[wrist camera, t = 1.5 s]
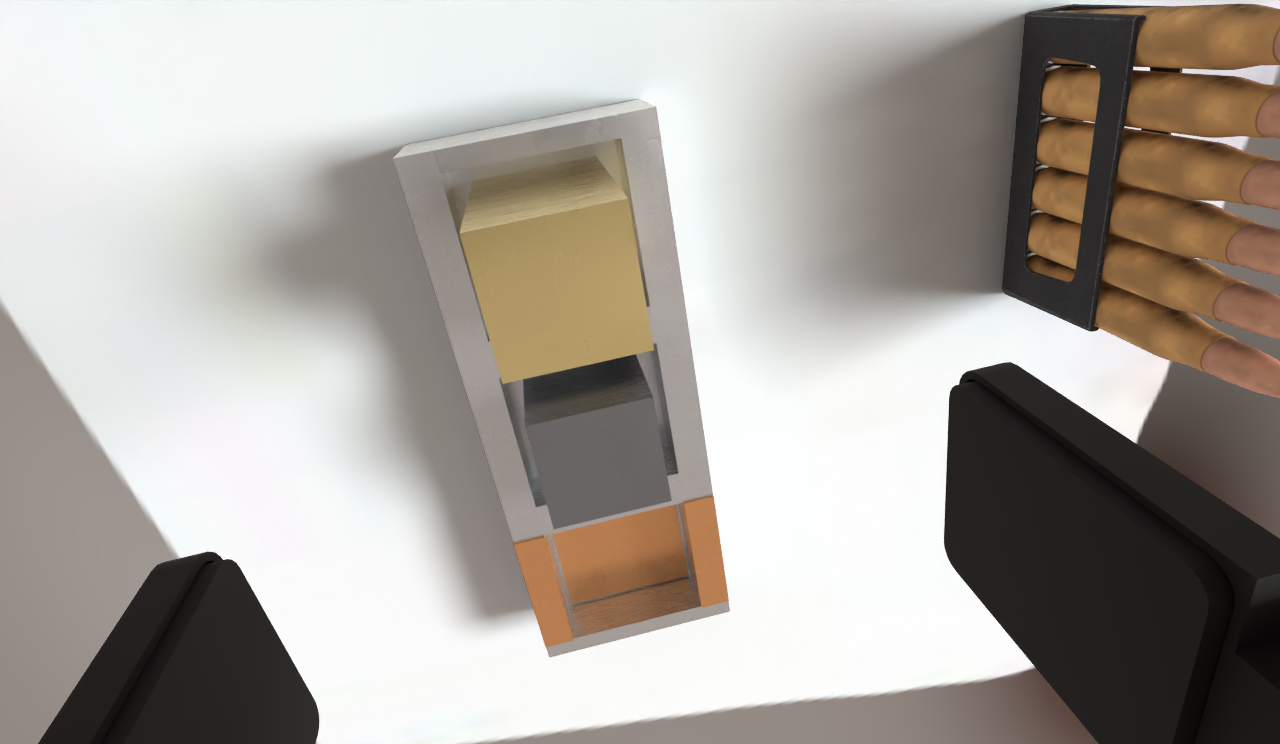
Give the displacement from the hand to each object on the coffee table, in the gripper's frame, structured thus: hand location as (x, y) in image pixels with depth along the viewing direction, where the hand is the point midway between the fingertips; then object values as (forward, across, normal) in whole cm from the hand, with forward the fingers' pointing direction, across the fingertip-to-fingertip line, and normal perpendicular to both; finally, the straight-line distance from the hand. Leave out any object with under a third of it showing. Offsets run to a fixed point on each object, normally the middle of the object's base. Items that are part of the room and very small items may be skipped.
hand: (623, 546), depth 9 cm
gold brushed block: (+17, 0, 0) cm, 17 cm away
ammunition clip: (+18, -19, +2) cm, 26 cm away
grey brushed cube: (+17, 0, +7) cm, 19 cm away
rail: (+18, 0, +7) cm, 19 cm away
